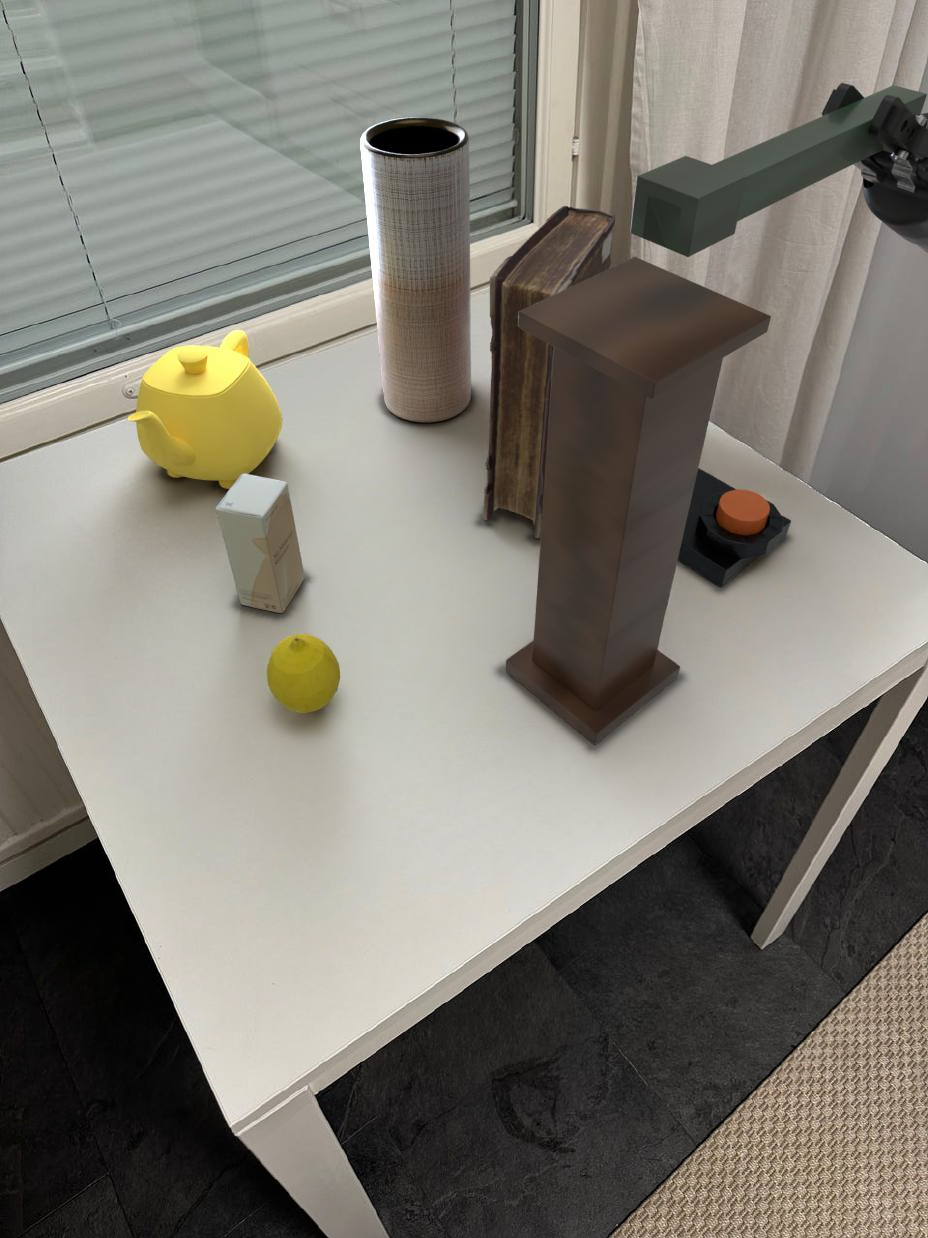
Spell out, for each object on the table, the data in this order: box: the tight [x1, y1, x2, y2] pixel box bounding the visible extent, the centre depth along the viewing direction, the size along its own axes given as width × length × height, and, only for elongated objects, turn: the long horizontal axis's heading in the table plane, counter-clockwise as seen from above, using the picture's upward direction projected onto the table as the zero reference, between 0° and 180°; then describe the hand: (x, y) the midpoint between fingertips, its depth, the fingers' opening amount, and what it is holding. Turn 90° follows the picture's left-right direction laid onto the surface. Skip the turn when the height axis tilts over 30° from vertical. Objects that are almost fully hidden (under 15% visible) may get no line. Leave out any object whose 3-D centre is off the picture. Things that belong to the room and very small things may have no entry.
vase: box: [360, 116, 472, 424], centre depth 91 cm, size 10×10×28 cm
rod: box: [630, 84, 928, 258], centre depth 52 cm, size 4×24×3 cm, turn 132°
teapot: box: [127, 329, 284, 490], centre depth 89 cm, size 13×20×12 cm
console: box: [677, 467, 792, 588], centre depth 84 cm, size 13×10×4 cm
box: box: [215, 473, 306, 614], centre depth 77 cm, size 5×4×11 cm
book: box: [482, 205, 616, 539], centre depth 81 cm, size 17×7×25 cm, turn 150°
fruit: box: [266, 633, 341, 714], centre depth 69 cm, size 6×6×8 cm
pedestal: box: [505, 256, 772, 746], centre depth 62 cm, size 10×10×32 cm
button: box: [716, 489, 770, 535], centre depth 80 cm, size 4×4×2 cm
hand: (859, 107), depth 53 cm, fingers closed on rod, 2 cm apart
